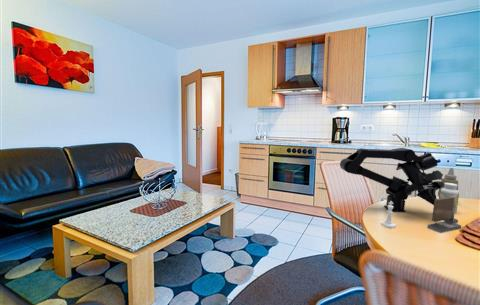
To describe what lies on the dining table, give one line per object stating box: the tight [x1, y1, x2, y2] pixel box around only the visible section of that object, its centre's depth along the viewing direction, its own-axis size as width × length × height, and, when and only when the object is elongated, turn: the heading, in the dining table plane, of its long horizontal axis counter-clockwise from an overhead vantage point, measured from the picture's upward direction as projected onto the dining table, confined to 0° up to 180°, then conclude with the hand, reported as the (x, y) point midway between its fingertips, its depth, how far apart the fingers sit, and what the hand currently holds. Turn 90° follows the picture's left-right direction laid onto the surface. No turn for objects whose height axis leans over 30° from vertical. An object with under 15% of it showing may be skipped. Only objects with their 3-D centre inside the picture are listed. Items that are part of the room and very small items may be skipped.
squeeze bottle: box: [437, 167, 459, 199], centre depth 128 cm, size 8×8×18 cm
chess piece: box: [380, 201, 396, 229], centre depth 98 cm, size 5×5×10 cm
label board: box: [427, 218, 462, 234], centre depth 100 cm, size 8×18×1 cm, turn 111°
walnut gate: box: [431, 196, 457, 223], centre depth 102 cm, size 2×12×9 cm, turn 111°
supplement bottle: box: [440, 183, 460, 213], centre depth 116 cm, size 7×7×13 cm
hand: (437, 206), depth 103 cm, fingers closed
